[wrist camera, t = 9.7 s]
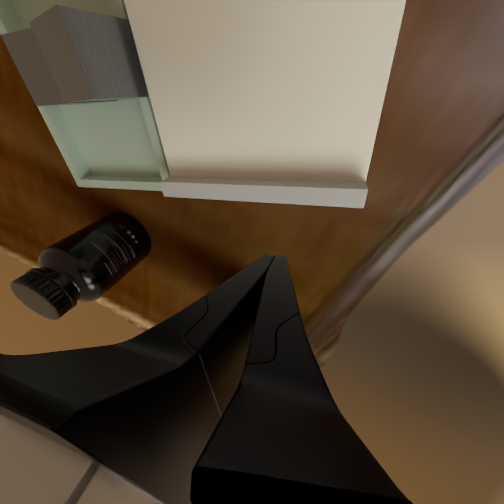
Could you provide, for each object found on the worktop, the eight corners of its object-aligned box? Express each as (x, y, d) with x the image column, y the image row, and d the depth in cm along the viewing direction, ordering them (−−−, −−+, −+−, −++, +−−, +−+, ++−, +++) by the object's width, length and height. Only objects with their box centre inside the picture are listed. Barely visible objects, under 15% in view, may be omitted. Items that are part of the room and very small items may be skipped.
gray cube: (74, 103, 16) (36, 106, 17) (117, 101, 19) (82, 104, 20) (41, 25, 14) (0, 34, 15) (96, 37, 17) (58, 44, 18)
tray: (184, 184, 22) (172, 191, 21) (93, 181, 26) (78, 186, 24) (106, -142, 12) (73, -176, 11) (-26, -77, 16) (-66, -96, 14)
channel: (358, 185, 18) (363, 208, 14) (191, 179, 22) (163, 196, 18) (455, -285, 8) (546, -575, 5) (124, -132, 12) (39, -223, 9)
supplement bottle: (133, 261, 32) (49, 330, 23) (98, 221, 30) (-13, 280, 20) (163, 249, 29) (79, 324, 19) (127, 202, 26) (10, 264, 17)
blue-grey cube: (148, 96, 16) (92, 99, 14) (119, 100, 18) (65, 102, 16) (128, 19, 14) (56, 4, 11) (97, 32, 16) (29, 22, 13)
